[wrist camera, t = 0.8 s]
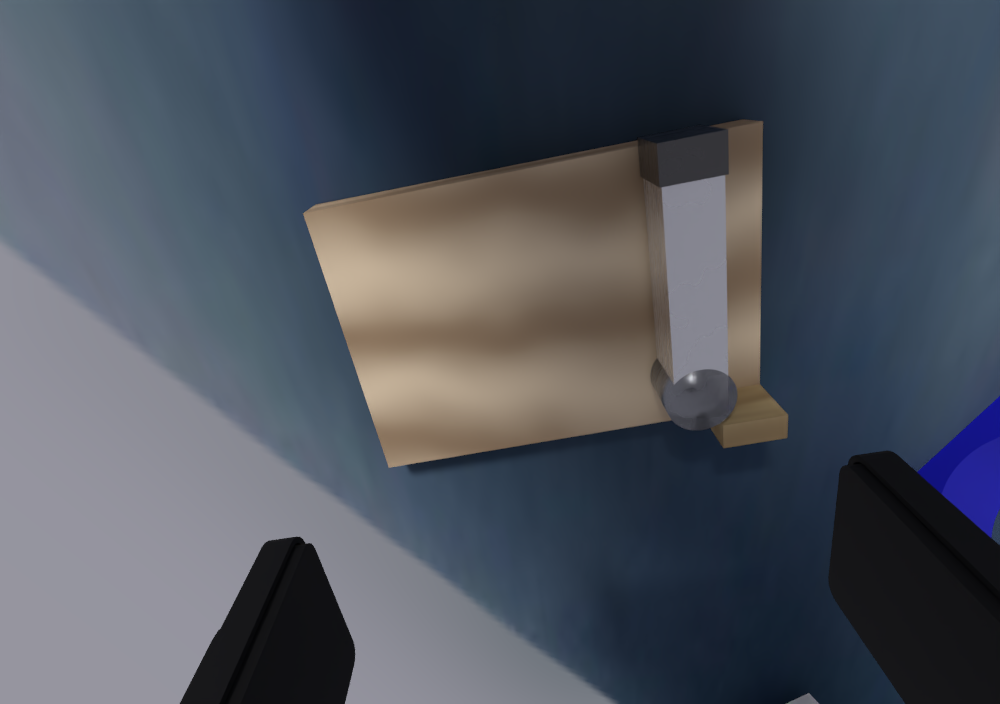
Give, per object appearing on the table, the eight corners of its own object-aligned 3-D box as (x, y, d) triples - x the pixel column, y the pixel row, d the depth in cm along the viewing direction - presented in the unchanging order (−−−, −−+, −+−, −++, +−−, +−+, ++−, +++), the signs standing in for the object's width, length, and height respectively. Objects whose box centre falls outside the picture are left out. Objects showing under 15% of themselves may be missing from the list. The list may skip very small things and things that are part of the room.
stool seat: (315, 204, 26) (279, 228, 22) (743, 119, 25) (799, 125, 21) (394, 446, 32) (379, 504, 28) (743, 387, 31) (787, 437, 26)
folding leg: (714, 393, 28) (738, 425, 26) (652, 403, 29) (669, 436, 26) (707, 123, 23) (736, 127, 20) (629, 138, 23) (648, 145, 20)
